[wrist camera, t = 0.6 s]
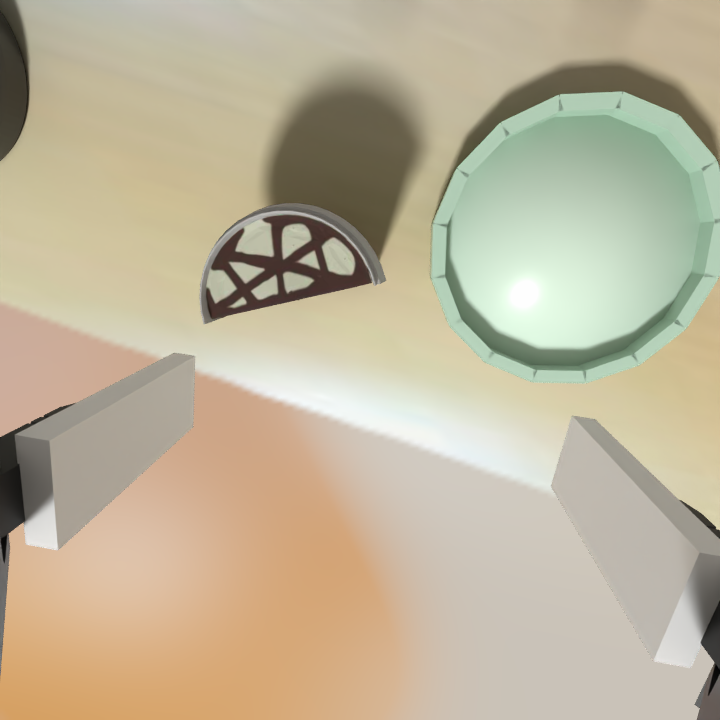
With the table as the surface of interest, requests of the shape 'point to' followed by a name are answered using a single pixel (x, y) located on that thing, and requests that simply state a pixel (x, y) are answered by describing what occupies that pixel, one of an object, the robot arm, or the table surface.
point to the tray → (578, 237)
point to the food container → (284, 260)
